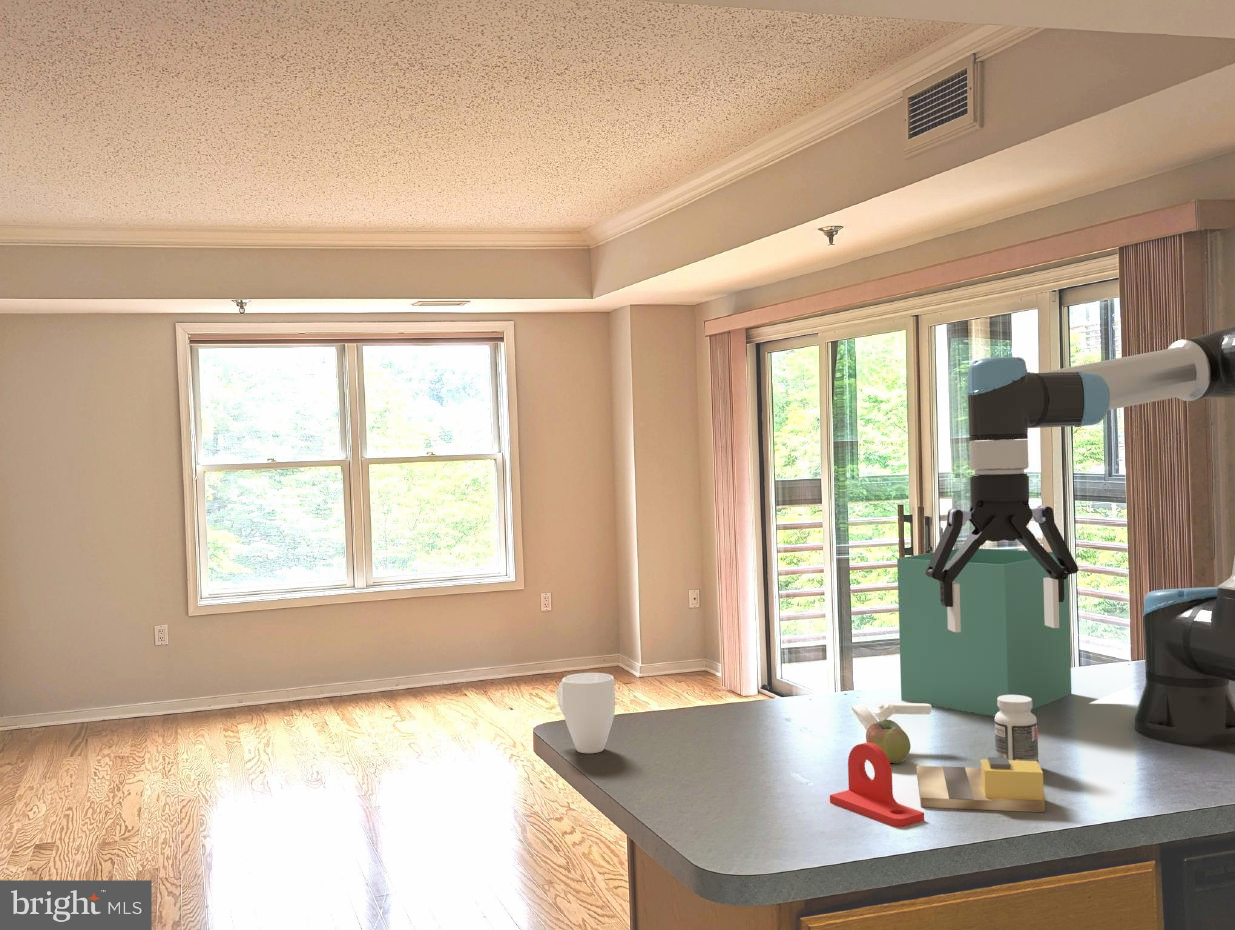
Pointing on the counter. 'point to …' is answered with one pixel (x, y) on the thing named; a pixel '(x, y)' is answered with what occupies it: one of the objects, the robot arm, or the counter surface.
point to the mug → (588, 709)
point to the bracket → (873, 789)
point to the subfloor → (964, 791)
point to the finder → (1011, 779)
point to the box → (982, 634)
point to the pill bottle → (1016, 729)
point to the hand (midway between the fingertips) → (1003, 628)
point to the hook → (888, 711)
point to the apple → (889, 739)
